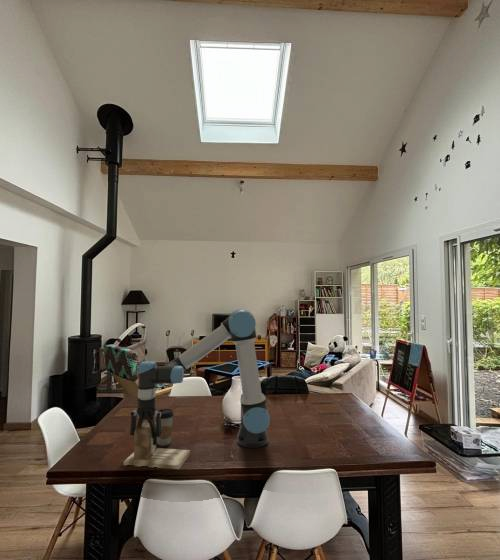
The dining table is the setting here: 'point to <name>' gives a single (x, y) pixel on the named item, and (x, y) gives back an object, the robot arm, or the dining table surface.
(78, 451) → the dining table surface
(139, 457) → the block
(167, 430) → the coffee cup
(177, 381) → the robot arm
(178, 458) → the board
